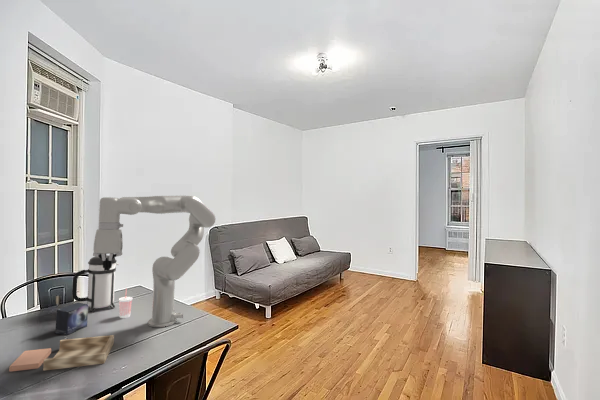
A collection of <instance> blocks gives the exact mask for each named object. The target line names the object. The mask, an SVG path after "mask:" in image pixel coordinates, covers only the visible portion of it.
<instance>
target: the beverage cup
mask: <svg viewBox="0 0 600 400" xmlns="http://www.w3.org/2000/svg"><path fill="white" fill-rule="evenodd" d="M127 290H128V288H127V287H126V288H125V296H122V297H119V298H118V302H119V305H118V307H119V309H118V310H119V311H118V312H119V318H120V319H127V318H130V317H131V311H132V304H133V303H132V302H133V299H134V298H133V297H132V296H127V293H128V292H127Z"/></svg>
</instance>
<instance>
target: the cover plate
mask: <svg viewBox="0 0 600 400" xmlns="http://www.w3.org/2000/svg"><path fill="white" fill-rule="evenodd" d="M51 354H52V348H51V347H49V348H39V349H30V350H24V351H23V352H22V353H21V354H20V355H19V356H18V357H17V358H15V360H14V361H13V362H12V363H11V364H10V366H9V368H8V369H9V370H8V371H9V372H17V371H27V370H35V369H36V370H37V369H40V367H41V366H42V365H43V363H44V360H45V359H48V358H49V356H50V355H51Z"/></svg>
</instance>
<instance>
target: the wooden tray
mask: <svg viewBox="0 0 600 400" xmlns="http://www.w3.org/2000/svg"><path fill="white" fill-rule="evenodd" d="M114 343H115V334H112V335H111V334H110V335H99V336H89V337H79V338H67V339H60V340H59V350H58V351H57V352H56V354H55V355H54V356H53V357H47V359H45V360H44V362H43V363H42V365H43V367H42V368H43V370H42V371H50V370H62V369H68V368H69V369H70V368H78V367H85V366H96V365H103V364H105V363H106V361H107V359H108V357H109V354H110V353H111V351H112V348H113V346H114Z"/></svg>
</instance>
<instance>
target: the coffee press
mask: <svg viewBox="0 0 600 400" xmlns="http://www.w3.org/2000/svg"><path fill="white" fill-rule="evenodd" d="M106 255H107V260H108V259H109V255H108V254H106ZM87 264H88V268H87V269H82V270H78V271H76V273H75V275H74V276H73V279H72V292H71V293H72V299H73V300H75V301H77V302H86V304H88V308H89V309H88V312H89V313H94V312H95V310H96V309H102V308H107V307H109V308H110V309H112V310H113V309H115V308H116V306H115V304H114V302H115V285H116V282H115V281H116V271H117V270H116V269H117V267H116V266H119V265H120V263H118V262H117V258H116V257H115V258H114V259H112V268H110V270H105V271H104V268H103V261H102V259H101V258H100V257H96V256H93V257H91V258H90V259H89V261H88V262H87ZM83 274H88V278H87V279H88V280H87V296H86V297H79V296H78V293H77V292H78V291H77V290H78V279H79V277H80V276H81V275H83Z"/></svg>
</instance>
